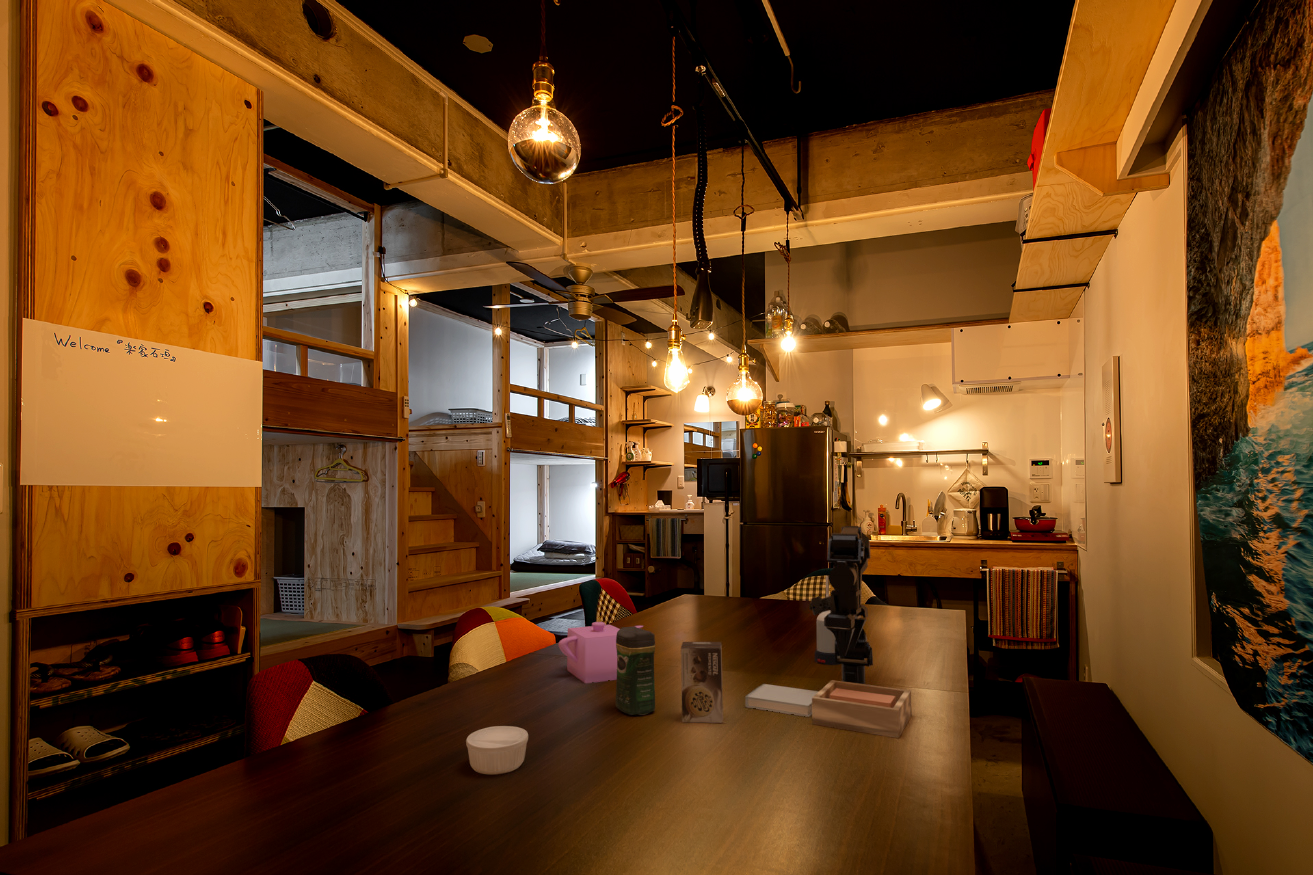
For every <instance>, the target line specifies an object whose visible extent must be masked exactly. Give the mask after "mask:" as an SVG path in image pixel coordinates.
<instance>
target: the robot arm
mask: <svg viewBox="0 0 1313 875" xmlns="http://www.w3.org/2000/svg"><path fill="white" fill-rule="evenodd" d="M827 545H828V546H827V556H826V558H827V559H826V561H827V562H826V563H833V568H832V569H831V570H830V572H829V575H828V583H829V584H830V586H831V587H832V588H833V589H832V590H831V591H830V595H829V596H828V597H826V596H825V597H820V596H815V597H812V598H811V602H809V611H812V613H813V615H814V616H817V615H818V616H819V614H821V613H822V612H825V611H829V610H830V613H829V614H828V615H827V616H826V617H824V626H826V628H827V629H828V630H830V631H831V632H832V633H833V634H834V636H835V662H836V664H839V665H841V681H842V682H850V683H857V684H865V685H869V684H868V683H866V667H869V668H870V667H871V666H873V665H874V658H873V656H874V655H873V648H872V646H871V644H870V641H868V638H867V634H866V630H865V629H864V626H865V623H866V621H867V618H868V617H869V609H868V607H867V606H866V605H865V604H862V580H863V577H862V575H863V574H864V572H865V571H866V570H867V568H868V567H869V566H868V565H869V564H868V562H869V560H870V559H871V544H870V538H869V537H868V535H866V534H864V533H863V530H862V526H858V525H844V526H841V532H833V533H831V536H830V537H828V544H827Z"/></svg>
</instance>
